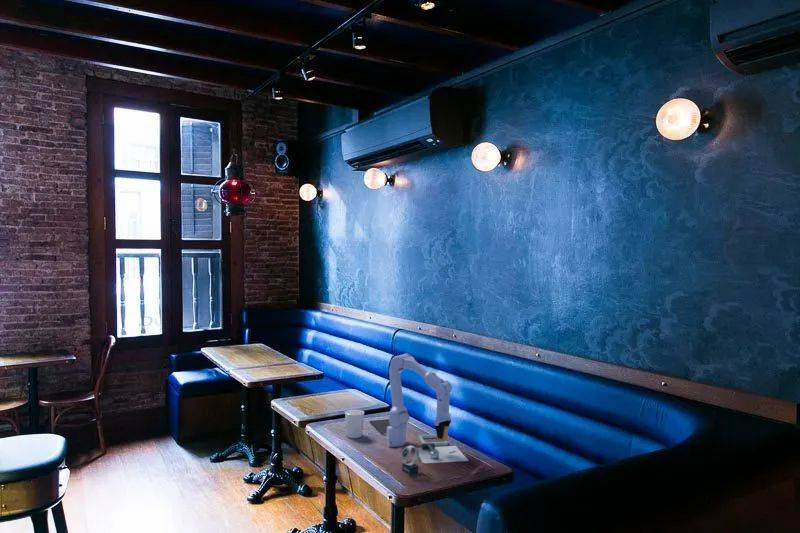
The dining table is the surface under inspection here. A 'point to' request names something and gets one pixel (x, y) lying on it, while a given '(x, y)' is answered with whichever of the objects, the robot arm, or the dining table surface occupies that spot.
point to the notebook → (381, 425)
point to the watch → (409, 466)
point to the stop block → (444, 435)
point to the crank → (431, 450)
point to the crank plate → (442, 455)
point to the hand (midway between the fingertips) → (441, 436)
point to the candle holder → (354, 423)
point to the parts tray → (432, 442)
